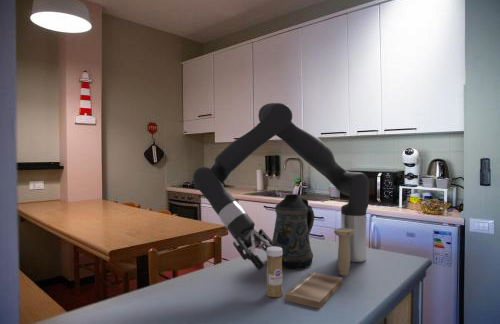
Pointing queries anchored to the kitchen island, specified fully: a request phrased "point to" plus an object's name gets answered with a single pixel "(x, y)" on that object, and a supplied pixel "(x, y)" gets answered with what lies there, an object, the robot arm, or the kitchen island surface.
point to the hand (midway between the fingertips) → (269, 264)
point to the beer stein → (294, 232)
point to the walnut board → (314, 289)
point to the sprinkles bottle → (274, 271)
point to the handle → (344, 250)
